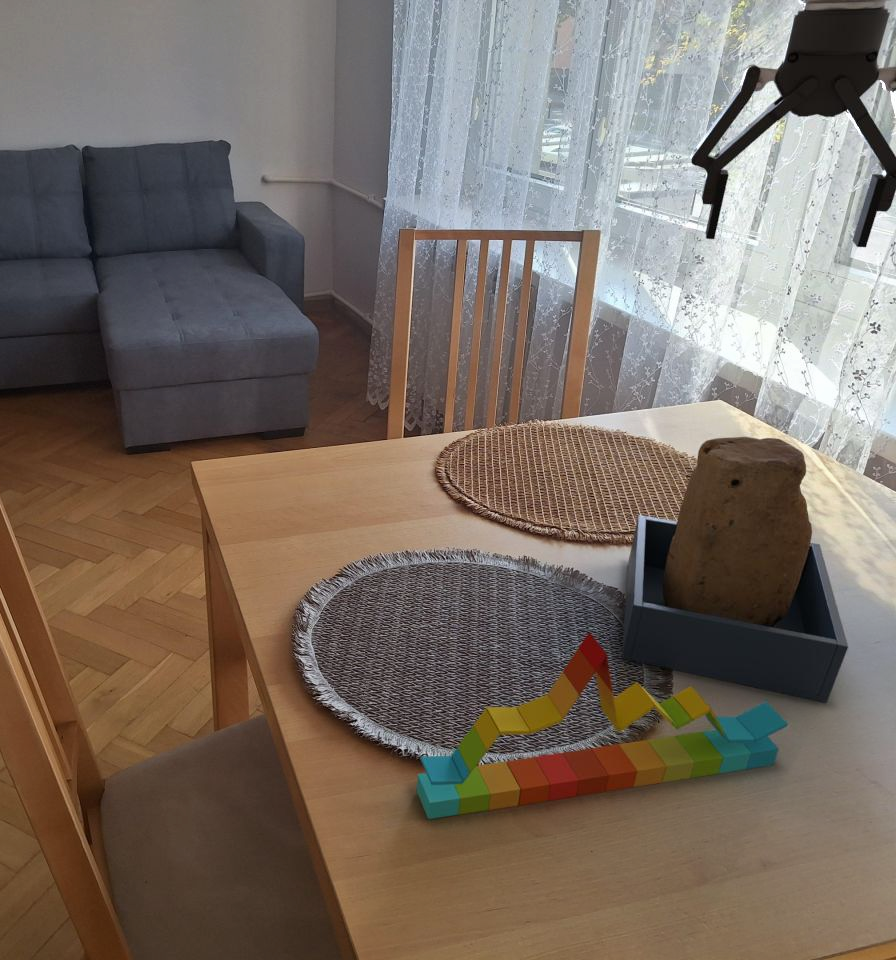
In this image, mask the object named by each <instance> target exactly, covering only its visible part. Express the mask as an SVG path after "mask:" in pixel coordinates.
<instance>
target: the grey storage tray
mask: <svg viewBox="0 0 896 960" xmlns="http://www.w3.org/2000/svg"><path fill="white" fill-rule="evenodd" d="M677 521H678V520H672V519H667V518H659V517H653V516H646V515H641V514H638V515H637V520H636V524H635V529H634V533H633V537H632V538H633V539H632V543H631V548H630V551H629V552H630V553H629V557H628V561H627V571H626V572H627V574H626V587H625V588H626V589H625V600H624V601H625V603H624V618H623V633H622V647H621V659H622V660H628V661H631V662H636V663H642V664H646V665H650V666H655V667H659V668H665V669H669V670H673V671H678V672H683V673H687V674H692V675H697V676H701V677H706V678H710V679H715V680H719V681H725V682H728V683H729V682H730V683H733V684H739V685H741V686H742V685H743V686H747V687H751V688H757V689H761V690H766V691H770V692H775V693H780V694H784V695H789V696H793V697H798V698H801V699H802V698H803V699H807V700H812V701H815V702H816V701H818V702H820V703H821V702H822V703H828V700H829V698H830V695H831V693H832V691H833V688H834V685H835V682H836V681H837V678H838V674H839V673H840V669H841V667H842V664H843V662H844V659H845V656H846V653H847V652H848V649H849V645H848V641H847V637H846V634H845V631H844V627H843V623H842V620H841V615H840V612H839V608H838V605H837V602H836V598H835V594H834V590H833V587H832V584H831V580H830V577H829V573H828V570H827V565H826V562H825V558H824V554H823V551H822V547H821V544H820V543H815V542H810V547H809V551H808V554H807V558H806V561H805V564H804V567H803V570H802V574H801V577H800V580H799V583H798V586H797V589H796V592H795V594H794V596H793V599H792V602H791V605H790V607H789V609H788V611H787V613H786V615H785V616H784V617H783V619H781V620H780V621H779V622H777V623H776V624H775V625H774V626H773V627H767V626H762V625H757V624H752V623H747V622H741V621H736V620H731V619H726V618H721V617H716V616H710V615H705V614H700V613H695V612H690V611H685V610H679V609H674V608H669V607H666V606H665V601H664V596H663V580H664V572H665V567H666V562H667V557H668V553H669V549H670V545H671V542H672V539H673V536H674V535H675V533H676V528H677Z"/></svg>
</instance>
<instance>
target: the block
mask: <svg viewBox="0 0 896 960" xmlns="http://www.w3.org/2000/svg"><path fill="white" fill-rule="evenodd" d="M806 475H807V464H806V460H805V454H804V453H803V452H802V450H800V449H799V448H797V447H795V446H794V445H792V444H790V443H788V442H786V441H784V440H783V439H780V438H776V437H775V438H774V437H765V438H764V437H763V438H757V437H750V436H735V437H717V438H712V439H709V440H708V439H707V440H705V441H704V442H703V443H701V445H700V446H699V449H698V453H697V461H696V467H694V469H692V472H691V474H690V477H689V480H688V483H687V486H686V489H685V492H684V496H683V499H682V502H681V505H680V509H679V512H678V515H677V516H678V517H677V520H676V521H677V528H676V533H675V535H674V536H673V539H672V542H671V545H670V549H669V553H668V557H667V562H666V567H665V572H664V580H663V596H664V601H665V606H666V607H669V608H674V609H679V610H685V611H690V612H695V613H700V614H705V615H710V616H716V617H721V618H726V619H731V620H736V621H741V622H747V623H752V624H757V625H762V626H767V627H773V626H774V625H775V624H776V623H777V622H779V621H780V620H781V619H783V617H784V616H785V615H786V613H787V611H788V609H789V607H790V605H791V602H792V599H793V596H794V594H795V592H796V589H797V586H798V583H799V580H800V577H801V574H802V570H803V567H804V564H805V561H806V558H807V554H808V551H809V547H810V543H812V542H811V541H812V536H813V525H812V523H811V521H810V517H809V511H808V503H807V500H806V498H805V496H804V495H803V493H802V490H801V484H802V482H803V480H804V478H805V476H806Z"/></svg>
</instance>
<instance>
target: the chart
mask: <svg viewBox="0 0 896 960" xmlns="http://www.w3.org/2000/svg"><path fill="white" fill-rule="evenodd" d="M594 676H595V680H596V685H597V690H598V695H599V696H598V697H599V702H600V707H601V710H602V712H603V713H604V715H605V716H606V717H607V719H608V720H609V722H610V723H611V724H612V726H613V727H614V729H615V730H616V731H617V733H621V732H622V731H624V730H625V729H627V728H629V726H631V725H632V724H634V723H635V722H637V721H638V720H639V719H641V718H642V717H644V716H645V715H647V714H648V713H649V712H651V711H652V710H653V709H654V710H656V712H657V713H659V714H660V715H661V716H662V717H663V718H664V719H665V720H666V721H667V722H668V723H669V724H670V725H671V726H672V727H673V728H674V729H675V730H677V731H678V730H679V729H681V728H683V727H685V726H687V725H689V724H690V723H691V722H694V721H696V720H698V719H699V718H702V717H704V716H705V717H706V719H707V720H708V721H709V723H710V724H711V725H712V726H713V728H714V729H709V730H703V731H696V732H689V733H683V734H676V735H670V736H664V737H658V738H650V739H644V740H637V741H631V742H624V743H618V744H617V743H616V744H611V745H604V746H598V747H592V748H585V749H584V748H583V749H578V750H572V751H565V752H559V753H558V752H557V753H552V754H545V755H540V756H532V757H525V758H519V759H513V760H506V761H499V762H493V763H486V764H480V765H478V764H479V763H480V762H481V760H482V759H483V758H484V756H485V755H486V753H487V752H488V751H489V750H490V748H491V747H492V746H493V744H494V743H495V742H496V740H497V739H498V738H499V736H507V735H508V736H509V735H511V736H512V735H513V736H514V735H515V736H516V735H519V736H521V735H523V736H524V735H533V734H535V733H538V732H540V731H542V730H544V729H545V730H546V729H547V728H550V727H552V726H554V725H555V726H556V725H558V724H560V723H562V722H563V721H564V719H565V718H566V716H568V713H569V712H570V711H571V709H572V708H573V706H574V705H575V703H576V702H577V700H578V699H579V697H580V696H581V694H582V693H583V691H584V690H585V689H586V687H587V686H588V684H589V682H590V681H591V680H592V678H593V677H594ZM788 725H789V723H788V722H787V721H786V720H785V718H783V717H782V716H781V715H780V714H779V712H777V711H776V710H775V709H774V708H773V706H772V705H771V704H770V703H769V702H768V701H764V702H762V703H760V704H759V705H756V706H754V707H752V708H750V709H748V710H746V711H744V712H742V713H740V714H738V715H736V716H716V714H715V713H714V711H713V709H712V708H711V706H710V705H709V704H708V703H707V702H706V701H705V699H704V698H703V697H702V696H701V695H700V694H699V692H698V691H697V690H696V689H695V688H694V687H693V686H689V687H687V688H685V689H683V690H681V691H679V692H678V693H676V694H674V695H673V696H670V697H668V698H667V699H664V700H663V701H662V702H660V703H659V702H658V701H657V699H655V698H654V697H653V696H652V695H651V694H650V693H649V692H648V691H647V690H646V689H645V688H644V687H643V686H642V685H641V684H639V682H637V681H636V682H634V683H633V684H631V685H629V687H627V688H626V689H624V690H623V691H622V692H620V693H619V694H618V695H617V696H615V695H614V689H613V684H612V677H611V672H610V665H609V659H608V654H607V653H606V651H605V650H604V648H602V646H601V645H600V643H599V642H598V641H597V640H596V639H595V637H594V636H593V635H592V633H591V632H588V633H587V634H586V636H585V637H584V639H583V640H582V642H581V643H580V645H579V646H578V648H577V649H576V651H575V653H574V654H573V655H572V657H571V658H570V660H569V661H568V663H567V664H566V666H565V667H564V669H563V670H562V672H561V673H560V675H559V677H558V678H557V679H556V681H555V682H554V684H553V686H552V687H551V688H550V690H549V692H548V693H547V694H546V695H542V696H540V697H537V698H535V699H533V700H530V701H528V702H525V703H523V704H521V705H518V706H487V707H486V708H485V709H484V710H483V711H482V713H481V714H480V716H479V717H478V719H477V720H475V722H474V723H473V725H472V726H471V728H470V729H469V730H468V732H467V733H466V735H465V736H464V738H462V740H461V741H460V743H459V744H458V746H457V747H456V748H455V750H454V751H453V752H452V754H451V755H427V756H426V755H424V756H420V762H421V764H422V766H423V769H424V771H425V772H424V773H418V774H417V781H416V792H417V795H418V797H419V800H420V803H421V805H422V808H423V811H424V812H425V815H426V817H427V820H432V819H439V818H446V817H451V816H456V815H467V814H473V813H478V812H485V811H492V810H493V811H494V810H498V809H506V808H511V807H516V806H524V805H529V804H537V803H542V802H549V801H555V800H556V801H557V800H562V799H567V798H573V797H580V796H586V795H593V794H599V793H604V792H611V791H617V790H624V789H630V788H637V787H644V786H650V785H656V784H661V783H662V784H663V783H668V782H674V781H675V782H676V781H681V780H686V779H693V778H700V777H705V776H712V775H718V774H724V773H730V772H731V773H732V772H739V771H743V770H749V769H750V770H751V769H755V768H756V769H757V768H762V767H770V766H774V764H775V761H776V759H777V757H778V756H777V755H778V753H779V751H780V748H779V747H778V746H777V745H776V744H775V742H773V740H772V739H771V738H770V737H769V736H771V735H773V734H775V733H777V732H779V731H781V730H784V729H785V728H787V727H788Z"/></svg>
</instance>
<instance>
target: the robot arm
mask: <svg viewBox="0 0 896 960" xmlns="http://www.w3.org/2000/svg"><path fill="white" fill-rule="evenodd" d="M889 1H891V0H798V2H799V4H803V10H798V11H797V14H794V16H793V19H792V24H791V29H790V33H789V37H788V41H787V46H786V49H785V53H784V57H783V60H782V62H781V64H780V65H779V66H778V68H770V67H762V66H758V65H756V64H750V65H747V66H746V68H745V69H744V72H743V76H742V77H741V81H740V84H739V86H738V89H737V90H736V92H735V93H734V95H733V96H732V97H731V99H730V100H729V102H728V103H727V104H726V106H725V107H724V109H723V110H722V111H721V113H720V114H719V115H718V117H717V118H716V120H715V121H714V122H713V123H712V125H711V126H710V128H709V129H708V130H707V132H706V133H705V134H704V136H703V137H702V138H701V140H700V141H699V143H698V144H697V146H696V147H695V148H694V150H693V151H692V152H691V154H690V163H691V164H692V166H695V167H699V168H701V169H703V170H704V171H706V173H705V179H704V184H703V188H702V193H701V202H702V205H709V206H710V209H709V214H708V219H707V225H706V229H705V238H706V240H715V238H716V234H717V229H718V225H719V220H720V215H721V210H722V207H723V202H724V196H725V192H726V189H727V184H728V179H729V172H728V169H724V168H725V167H726V166H728V165H729V164H730V163H731V162H732V161H733V160H734V159H735V158H737V157H738V156H739V155H740V154H741V153H742V152H744V151H745V150H746V149H747V148H749V146H750V145H752V144H753V143H754V142H755V141H756V140H757V139H758V138H760V137H761V136H762V135H763V134H764V133H766V132H767V131H768V130H770V128H771V127H773V125H775V123H777V122H779V121H780V120H782V119H783V118H784V117H785V116H786V115H788V114H789V112H790V113H791V114H792V115H795V116H796V117H798V118H801V117H802V118H803V117H804V118H805V117H806V118H807V117H812V116H816V115H817V116H822V117H825V118H835V117H836V116H839V115H841V114H843V113H845V114H846V115H847V117H848V118H849V119H850V121H851V122H852V124H853V126H854V127H855V129H856V131H857V132H858V133H859V135H860V137H861V138H862V140H863V141H864V143H865V144H866V146H867V147H868V149H869V151H870V152H871V154H872V155H873V157H874V159H875V161H876V163H877V164H878V165H879V167H880V168H881V170H882V173H881V174H880V173H879V174H877V173H872V175H871V178H870V181H869V184H868V188H867V189H866V194H865V197H864V200H863V204H862V207H861V211H860V214H859V217H858V221H857V224H856V227H855V231H854V234H853V238H852V242H853V244H854V245H855V246H856V247H857V248H867V245H868V242H869V240H870V235H871V233H872V229H873V227H874V222H875V220H876V217H877V212H883V213H884V212H885V213H887V212H888V211H889V210H890V208H891V207H892V205H893V201H894V199H895V195H896V154H895V153H894V151H893V149H892V148H891V147H890V144H889V143H888V141H887V140H886V138H885V136H884V135H883V133H882V132H881V130H880V129H879V127H878V125H877V124H876V122H875V121H874V119H873V118H872V115H870V112H869V110H868V109H867V107H866V105H865V104H864V102H863V101H862V99H861V97H862V96H863V95H864V94H866V92H867V91H868V90H869V89H871V88H872V87H873V86H874V85H875V84H876V83H877V81H880V82H881V83H882V88H883V90H885V91H888V92H890V100H891V104H892V108H893V113H894V116H895V118H896V65H893V66H886V67H885V66H884V67H879V65H878V57H879V53H880V50H881V46H882V43H883V40H884V36H885V32H886V29H887V25H888V21H889V18H890V15H891V12H889V8H885V7H886V2H889ZM769 82H773V84H774V85H775V87H776V89H777V91H778V93H779V95H780V96H779V97H778V98H777V99H775V100H774V101H773V102H772V103H771V104H770V105H769V106H767V107H766V109H765V110H764V111H762V113H760V115H758V116H757V117H756V118H755V119H754V120H753V121H752V122H750V123H749V124H748V125H747V126H746V127H745V128H744V129H743V130H741V131H740V132H739V133H738V134H737V135H736V136H735V137H734V138H732V139H731V140H730V141H729V142H728V143H727V144H726V145H724V147H722V148H721V149H720V150H719V151H718V152H717V153H716V154H715V155H712V154H711V153H712V151H713V150H714V149H715V147H716V146H717V145H718V143H719V142H720V140H721V139H722V138H723V137H724V135H725V134H726V132H727V131H728V130H729V128H730V127H731V126H732V124H733V123H734V122H735V120H736V119H737V117H738V116H739V115H740V113H741V112H742V111H743V109H744V108H745V107H746V105H747V104H748V103H749V102H750V99H751V98H752V97H753V94H754V93H755V92H760V91H762V90H763V89H764V88H765V86H766V85H767V84H768V83H769Z"/></svg>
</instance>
